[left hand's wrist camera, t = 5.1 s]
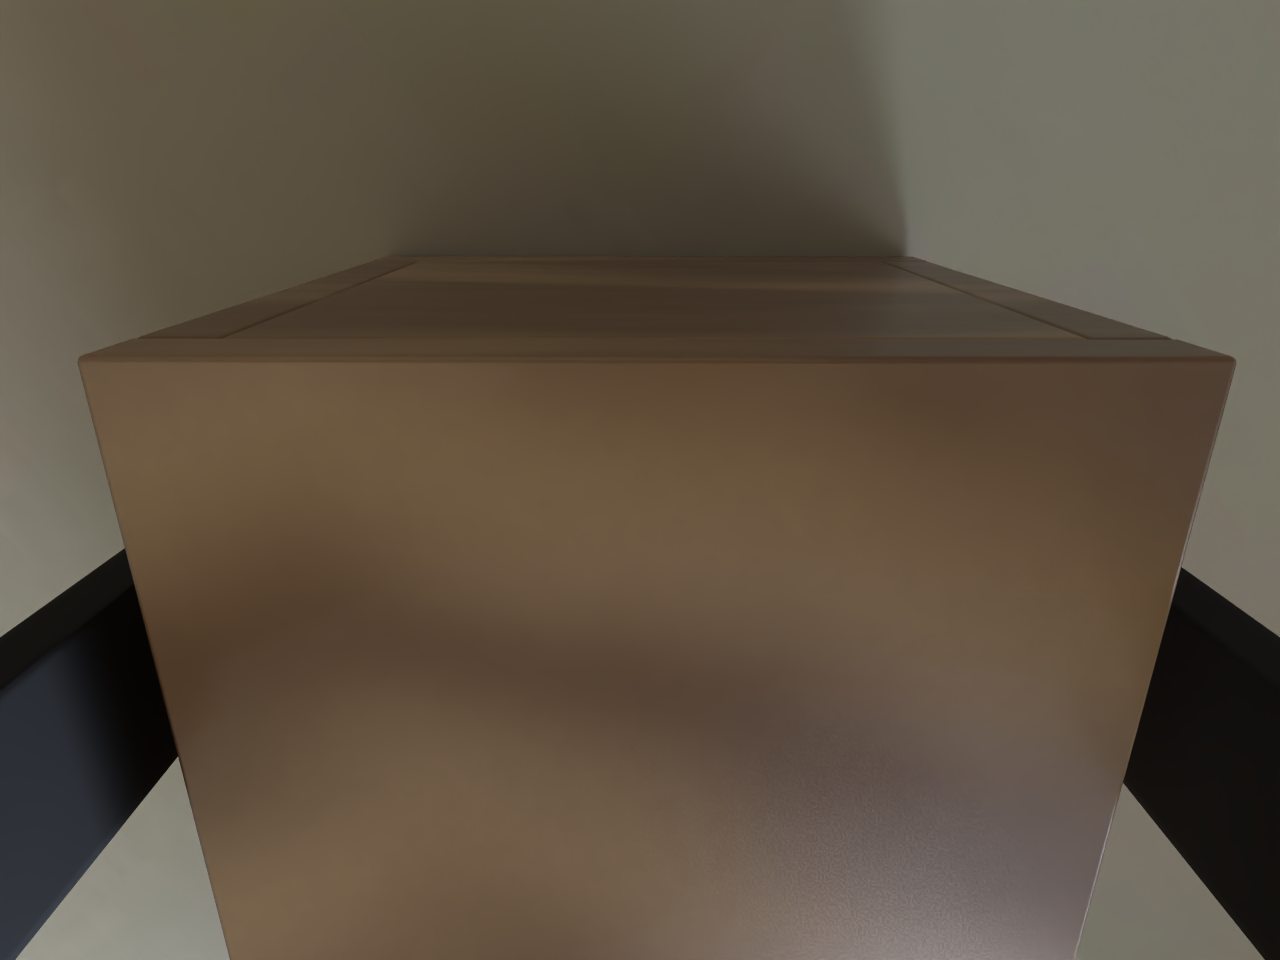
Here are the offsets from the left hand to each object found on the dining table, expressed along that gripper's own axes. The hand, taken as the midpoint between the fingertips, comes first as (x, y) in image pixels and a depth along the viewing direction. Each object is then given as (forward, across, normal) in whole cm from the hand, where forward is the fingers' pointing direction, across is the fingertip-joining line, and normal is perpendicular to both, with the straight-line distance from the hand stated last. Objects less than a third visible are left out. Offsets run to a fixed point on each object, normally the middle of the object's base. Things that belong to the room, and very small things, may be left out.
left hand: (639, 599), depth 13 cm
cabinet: (+6, 0, -5) cm, 8 cm away
